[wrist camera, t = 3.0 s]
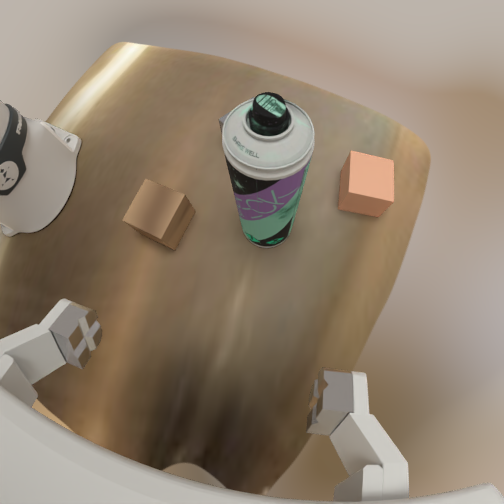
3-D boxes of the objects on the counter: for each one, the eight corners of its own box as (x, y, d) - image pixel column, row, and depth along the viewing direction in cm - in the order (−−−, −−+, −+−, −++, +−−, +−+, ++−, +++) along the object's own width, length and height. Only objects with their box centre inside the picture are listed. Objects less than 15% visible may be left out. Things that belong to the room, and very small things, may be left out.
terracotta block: (337, 209, 34) (348, 192, 29) (340, 171, 35) (350, 150, 30) (377, 217, 33) (393, 201, 28) (378, 180, 34) (393, 160, 29)
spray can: (244, 199, 34) (223, 67, 15) (293, 203, 34) (321, 73, 14) (239, 246, 33) (205, 144, 13) (290, 250, 33) (323, 152, 13)
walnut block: (140, 233, 34) (122, 220, 29) (160, 196, 35) (145, 178, 30) (175, 250, 33) (161, 239, 28) (195, 211, 34) (184, 194, 29)
